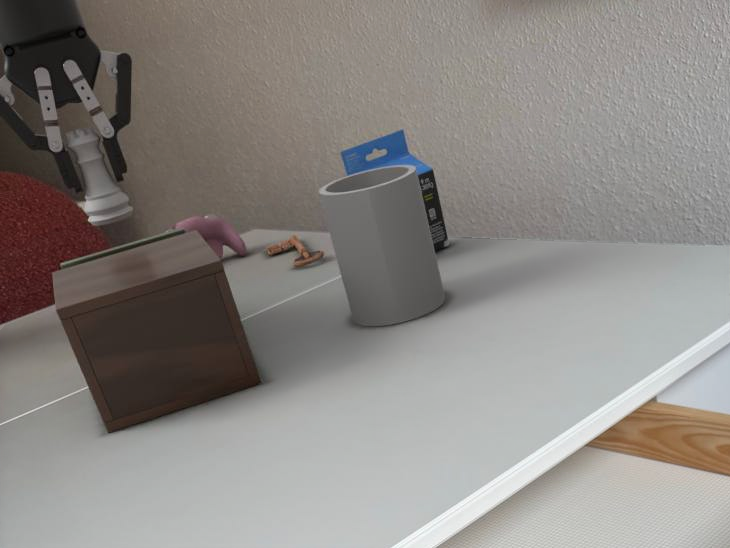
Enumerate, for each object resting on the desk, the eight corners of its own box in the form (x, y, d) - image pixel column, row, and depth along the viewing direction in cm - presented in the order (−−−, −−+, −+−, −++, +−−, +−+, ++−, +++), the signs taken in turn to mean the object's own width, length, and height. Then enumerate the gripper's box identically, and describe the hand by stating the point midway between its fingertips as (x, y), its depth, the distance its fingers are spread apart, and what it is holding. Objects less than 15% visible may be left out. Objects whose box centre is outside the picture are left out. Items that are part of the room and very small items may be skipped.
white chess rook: (80, 227, 105) (45, 139, 101) (115, 213, 108) (82, 126, 103) (109, 225, 102) (75, 134, 98) (144, 211, 105) (112, 121, 101)
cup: (444, 313, 102) (413, 178, 95) (349, 333, 103) (312, 201, 96) (445, 285, 109) (417, 158, 103) (357, 304, 110) (324, 180, 104)
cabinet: (98, 383, 107) (51, 272, 101) (234, 340, 109) (196, 229, 103) (107, 433, 94) (55, 309, 88) (261, 383, 96) (220, 259, 90)
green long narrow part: (93, 338, 117) (58, 254, 113) (206, 303, 120) (177, 219, 115) (103, 388, 102) (64, 293, 97) (234, 346, 104) (202, 252, 99)
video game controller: (242, 264, 143) (215, 214, 142) (252, 250, 139) (224, 198, 138) (176, 290, 138) (147, 238, 137) (184, 276, 134) (155, 223, 133)
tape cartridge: (390, 273, 118) (359, 152, 111) (368, 270, 121) (338, 152, 114) (451, 245, 122) (425, 127, 115) (429, 244, 125) (402, 128, 118)
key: (267, 252, 140) (280, 276, 127) (264, 245, 139) (277, 269, 127) (309, 236, 140) (327, 258, 128) (306, 229, 140) (324, 250, 127)
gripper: (99, -40, 98) (168, 161, 108) (-60, -2, 96) (25, 202, 105) (104, -44, 92) (176, 170, 102) (-65, -3, 90) (25, 213, 99)
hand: (99, 185), depth 103 cm, fingers closed on white chess rook, 3 cm apart
